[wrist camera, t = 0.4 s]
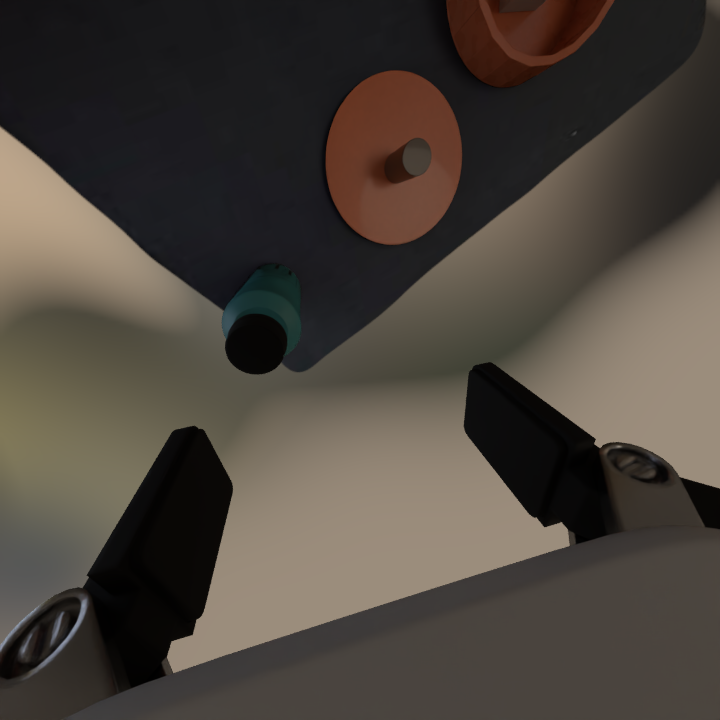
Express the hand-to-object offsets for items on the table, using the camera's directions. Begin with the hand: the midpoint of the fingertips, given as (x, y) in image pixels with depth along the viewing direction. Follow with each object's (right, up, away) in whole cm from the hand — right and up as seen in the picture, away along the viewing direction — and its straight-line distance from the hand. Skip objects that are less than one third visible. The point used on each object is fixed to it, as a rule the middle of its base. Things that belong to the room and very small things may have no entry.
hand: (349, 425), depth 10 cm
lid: (+5, +25, +22) cm, 33 cm away
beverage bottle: (-11, +12, +26) cm, 31 cm away
